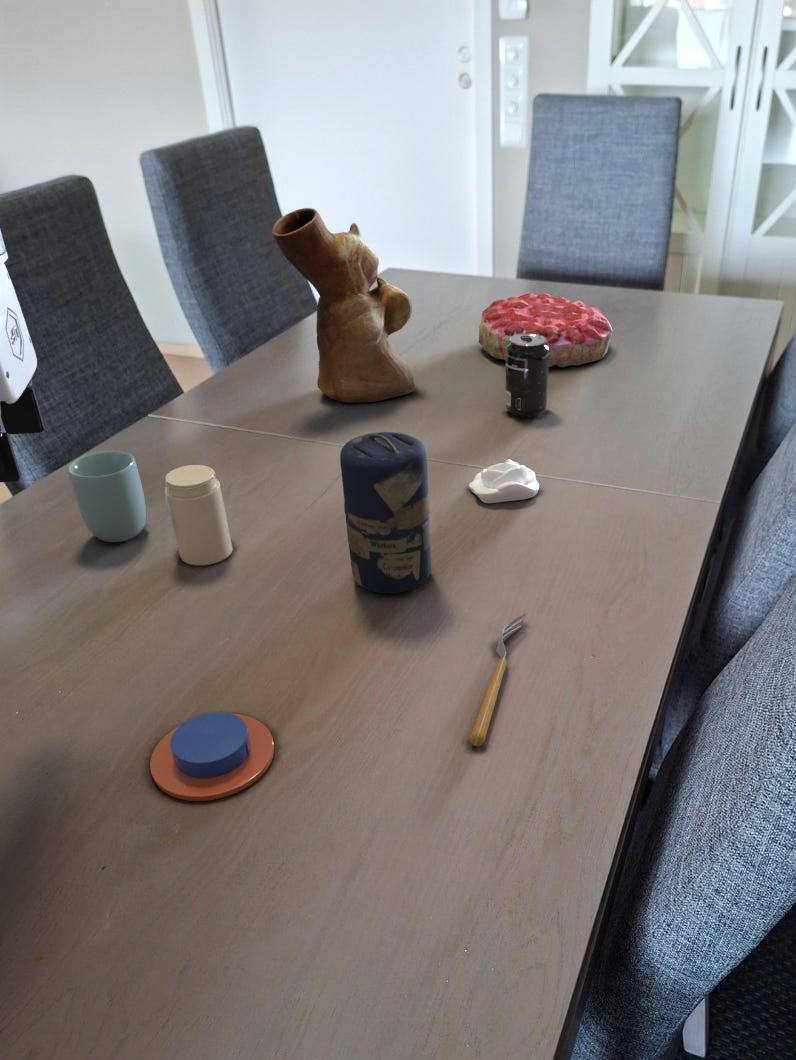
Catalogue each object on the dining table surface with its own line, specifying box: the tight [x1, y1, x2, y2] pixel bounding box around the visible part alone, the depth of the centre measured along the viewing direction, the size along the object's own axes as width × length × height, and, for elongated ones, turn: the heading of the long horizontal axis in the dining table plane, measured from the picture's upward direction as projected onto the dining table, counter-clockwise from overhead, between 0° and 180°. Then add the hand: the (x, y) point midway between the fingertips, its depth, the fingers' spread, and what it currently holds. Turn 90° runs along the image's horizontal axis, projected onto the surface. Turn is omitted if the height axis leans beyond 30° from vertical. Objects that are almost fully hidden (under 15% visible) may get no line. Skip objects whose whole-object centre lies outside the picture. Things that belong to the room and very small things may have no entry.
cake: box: [478, 292, 614, 368], centre depth 171 cm, size 25×25×8 cm
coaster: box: [149, 712, 275, 802], centre depth 82 cm, size 11×11×1 cm
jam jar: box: [164, 464, 233, 566], centre depth 109 cm, size 6×6×11 cm
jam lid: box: [170, 711, 251, 778], centre depth 82 cm, size 7×7×2 cm
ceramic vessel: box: [271, 207, 416, 403], centre depth 146 cm, size 16×22×30 cm
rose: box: [468, 458, 540, 504], centre depth 124 cm, size 10×4×10 cm
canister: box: [339, 431, 432, 594], centre depth 102 cm, size 10×10×18 cm
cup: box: [67, 450, 147, 543], centre depth 113 cm, size 8×8×10 cm
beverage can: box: [504, 333, 549, 418], centre depth 145 cm, size 7×7×12 cm
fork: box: [469, 613, 526, 747], centre depth 91 cm, size 2×2×20 cm
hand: (13, 455), depth 77 cm, fingers open, 9 cm apart
